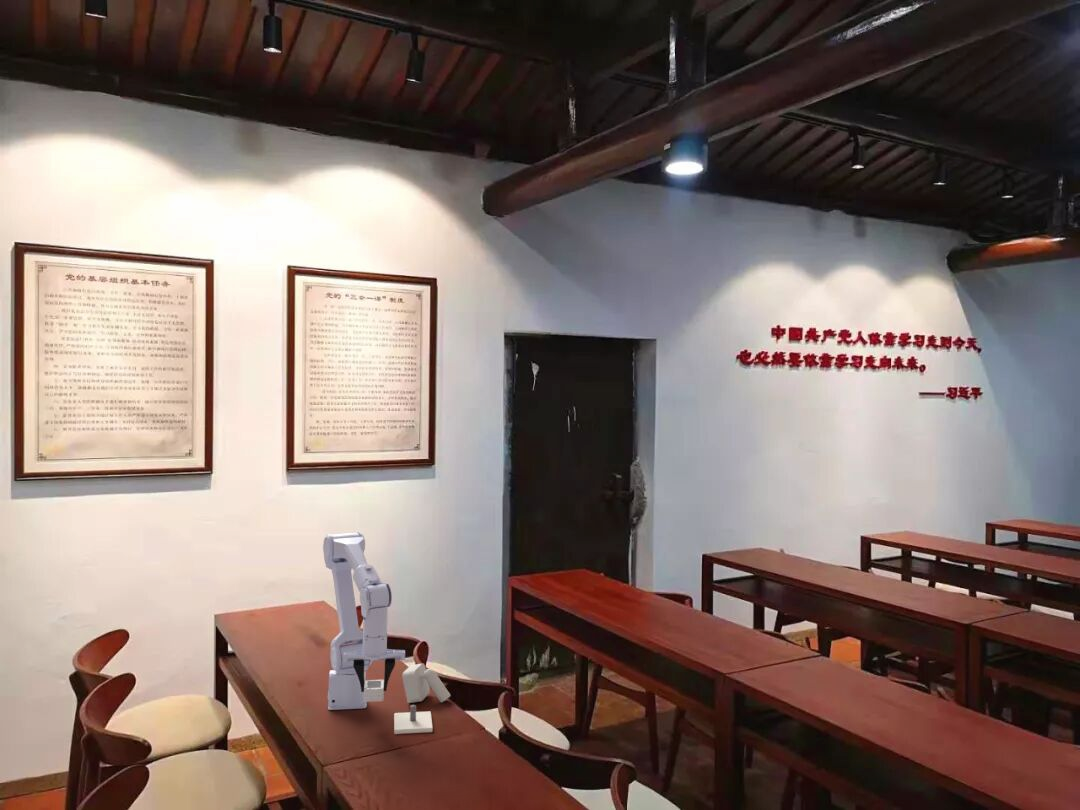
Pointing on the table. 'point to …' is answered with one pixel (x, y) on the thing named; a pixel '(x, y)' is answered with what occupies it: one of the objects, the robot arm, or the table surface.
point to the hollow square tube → (373, 690)
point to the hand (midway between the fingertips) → (373, 690)
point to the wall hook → (422, 684)
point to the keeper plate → (412, 721)
